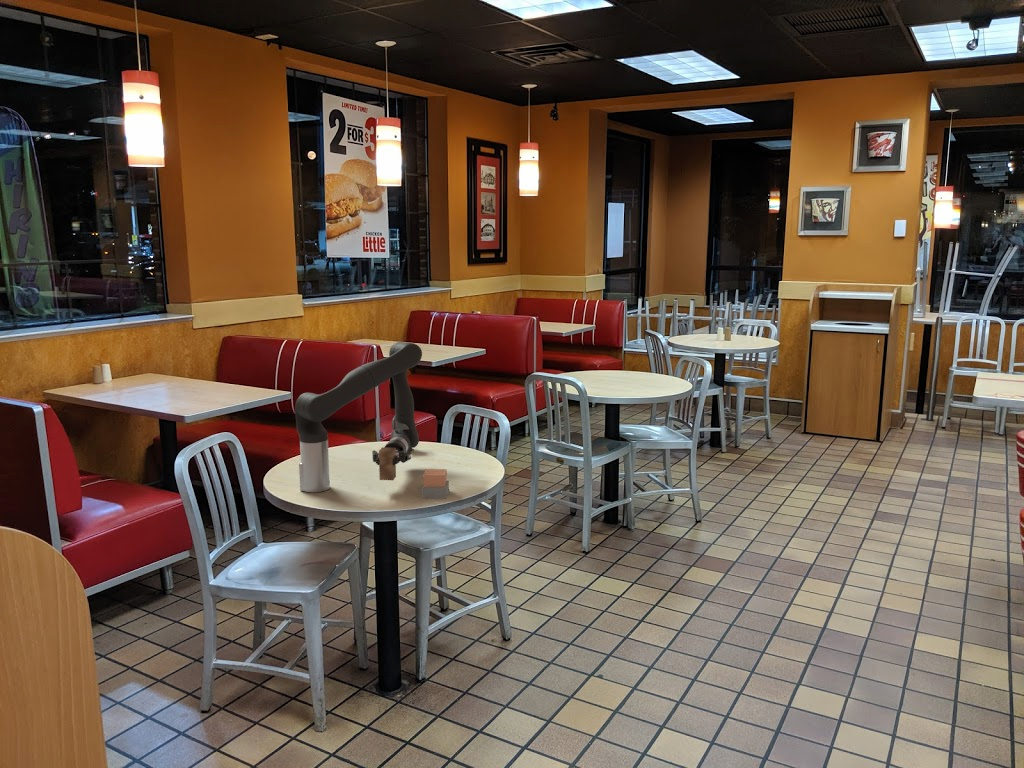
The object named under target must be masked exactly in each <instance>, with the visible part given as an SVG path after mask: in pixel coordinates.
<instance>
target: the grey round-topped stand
mask: <svg viewBox="0 0 1024 768" xmlns="http://www.w3.org/2000/svg"><path fill="white" fill-rule="evenodd" d="M391 428H392V431H393V430H395V429H409V428H408V426H407V425H405V424H402V423H398V422H396V420H395V415H394V416H393V418H392V420H391ZM409 451H410V452H411V453H412V452H414V451H415V450H414V448H409V449H408V450H407V452H409Z"/></svg>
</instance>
